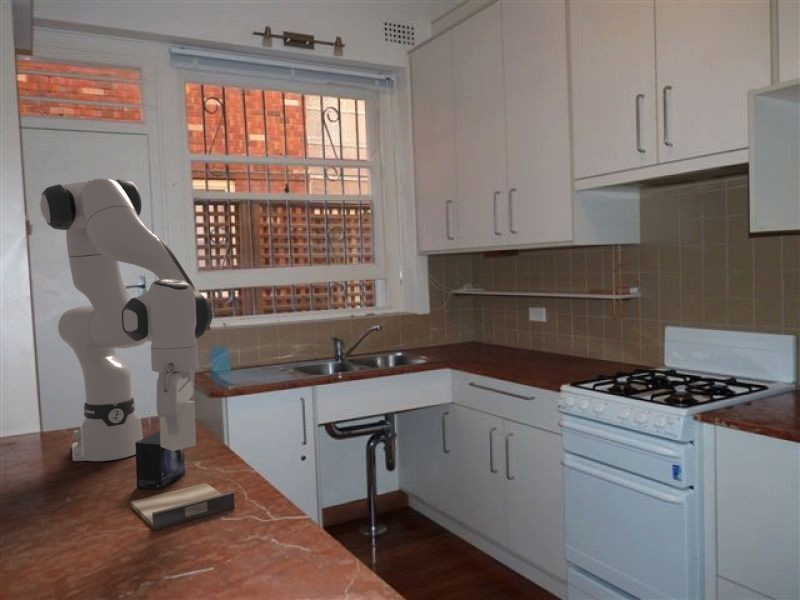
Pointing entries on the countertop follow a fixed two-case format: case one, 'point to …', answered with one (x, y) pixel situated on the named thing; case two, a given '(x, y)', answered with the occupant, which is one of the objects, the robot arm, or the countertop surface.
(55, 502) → the countertop surface
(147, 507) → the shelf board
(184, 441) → the carton
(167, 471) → the small box
